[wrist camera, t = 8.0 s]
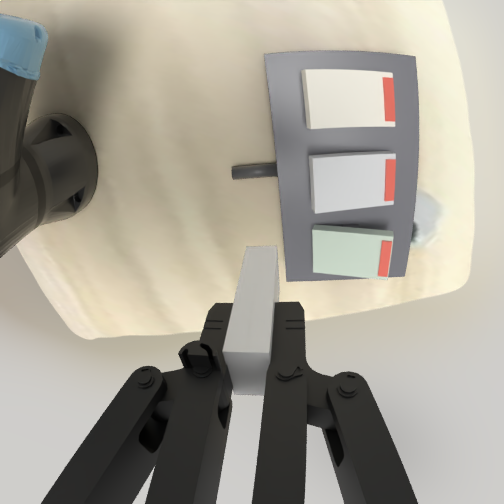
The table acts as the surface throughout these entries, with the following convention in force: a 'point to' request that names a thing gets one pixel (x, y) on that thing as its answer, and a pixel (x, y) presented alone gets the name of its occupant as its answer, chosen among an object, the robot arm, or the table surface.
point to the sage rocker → (352, 251)
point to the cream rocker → (348, 98)
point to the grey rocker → (352, 180)
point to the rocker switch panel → (338, 141)
